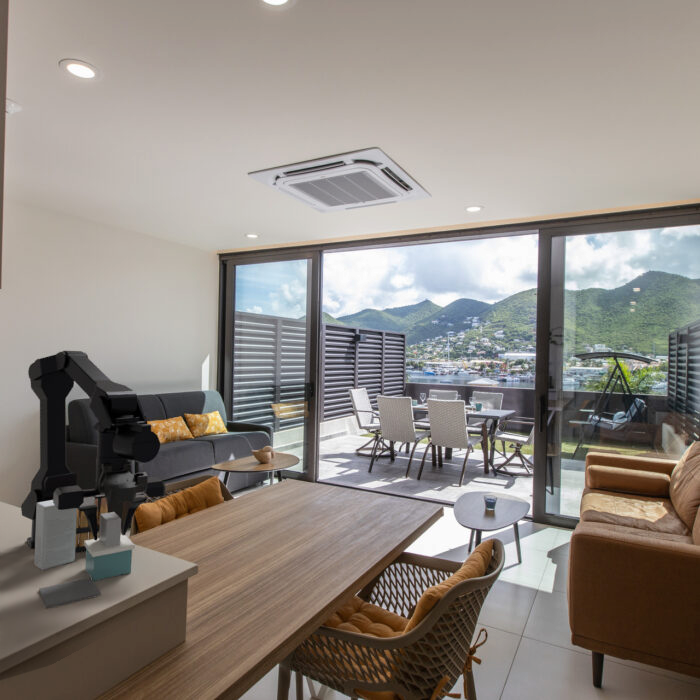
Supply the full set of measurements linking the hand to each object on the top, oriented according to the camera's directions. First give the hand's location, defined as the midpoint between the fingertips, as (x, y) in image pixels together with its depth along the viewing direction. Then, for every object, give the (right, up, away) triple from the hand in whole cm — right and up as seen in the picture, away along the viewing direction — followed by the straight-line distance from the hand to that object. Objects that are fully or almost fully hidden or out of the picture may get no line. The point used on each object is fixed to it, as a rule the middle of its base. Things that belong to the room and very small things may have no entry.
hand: (109, 537), depth 95 cm
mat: (-2, -6, -10) cm, 11 cm away
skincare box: (-12, -6, +2) cm, 14 cm away
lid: (0, -2, 0) cm, 2 cm away
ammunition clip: (-11, -6, +9) cm, 15 cm away
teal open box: (0, -6, 0) cm, 6 cm away
